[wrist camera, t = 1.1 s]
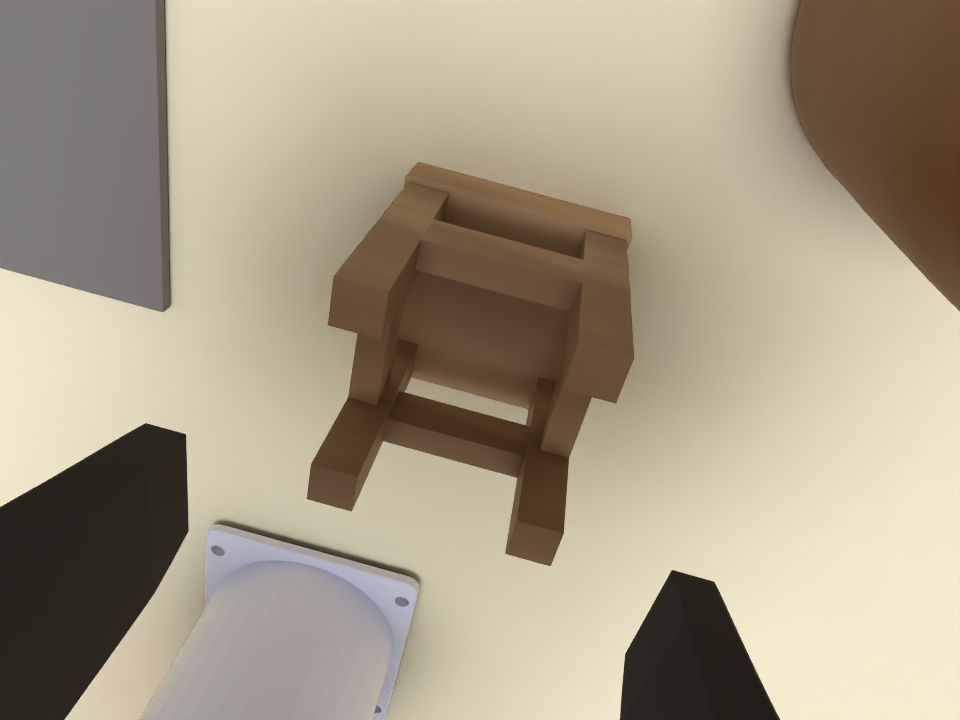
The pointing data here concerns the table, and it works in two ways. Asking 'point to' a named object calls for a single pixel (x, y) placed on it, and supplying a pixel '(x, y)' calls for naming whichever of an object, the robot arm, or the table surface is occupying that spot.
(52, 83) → the mat
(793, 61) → the mug
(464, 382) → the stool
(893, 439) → the table surface
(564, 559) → the table surface
